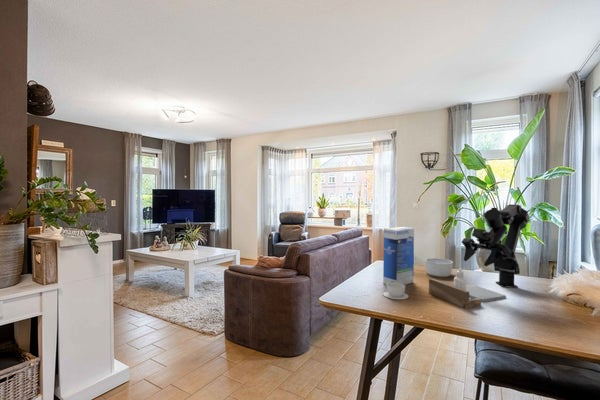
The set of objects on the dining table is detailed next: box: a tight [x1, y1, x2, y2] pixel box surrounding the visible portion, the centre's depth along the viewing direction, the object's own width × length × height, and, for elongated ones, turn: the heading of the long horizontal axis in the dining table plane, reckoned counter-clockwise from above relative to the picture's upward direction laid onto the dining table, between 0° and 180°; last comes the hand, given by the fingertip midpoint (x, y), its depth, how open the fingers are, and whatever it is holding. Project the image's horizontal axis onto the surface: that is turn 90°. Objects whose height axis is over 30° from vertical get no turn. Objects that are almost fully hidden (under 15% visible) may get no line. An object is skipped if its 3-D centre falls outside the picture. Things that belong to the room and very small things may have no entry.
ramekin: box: [424, 257, 454, 278], centre depth 154 cm, size 13×13×7 cm
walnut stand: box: [428, 278, 482, 309], centre depth 118 cm, size 8×18×6 cm, turn 20°
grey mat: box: [466, 285, 507, 303], centre depth 123 cm, size 13×13×1 cm
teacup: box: [382, 282, 409, 300], centre depth 121 cm, size 10×10×5 cm
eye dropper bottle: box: [453, 267, 467, 290], centre depth 119 cm, size 4×6×12 cm
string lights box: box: [382, 226, 415, 286], centre depth 138 cm, size 13×8×26 cm, turn 123°
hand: (474, 263), depth 121 cm, fingers open, 9 cm apart
